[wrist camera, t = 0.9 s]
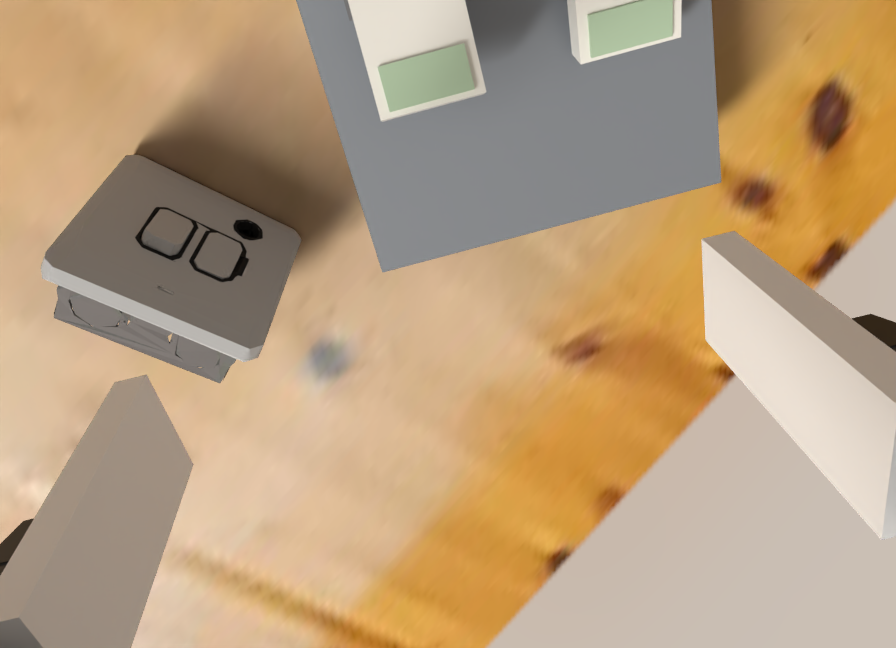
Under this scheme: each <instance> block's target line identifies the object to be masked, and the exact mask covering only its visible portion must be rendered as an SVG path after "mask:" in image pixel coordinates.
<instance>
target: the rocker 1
mask: <svg viewBox="0 0 896 648" xmlns="http://www.w3.org/2000/svg"><path fill="white" fill-rule="evenodd" d="M348 3H349V7H350V10H351V14H352V18H353V21H354V25H355V29H356V32H357V36H358V39H359V43H360V47H361V50H362V54H363V58H364V61H365V65H366V69H367V72H368V76H369V79H370V83H371V87H372V90H373V94H374V98H375V101H376V105H377V108H378V112H379V116H380V119H381V121H382V122H383V121H387V120H391V119H394V118H398V117H402V116H405V115H409V114H413V113H417V112H420V111H424V110H428V109H431V108H435V107H439V106H442V105H446V104H450V103H453V102H457V101H461V100H464V99H468V98H472V97H475V96H479V95H483V94H485V93H486V88H485V84H484V79H483V75H482V71H481V67H480V62H479V58H478V54H477V49H476V45H475V41H474V37H473V32H472V28H471V24H470V19H469V15H468V11H467V7H466V2H465V0H348Z"/></svg>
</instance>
